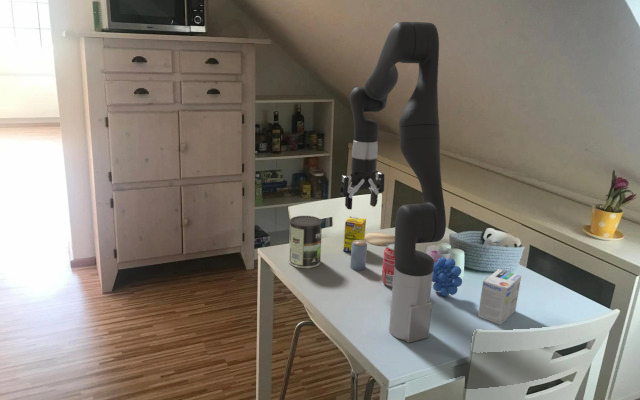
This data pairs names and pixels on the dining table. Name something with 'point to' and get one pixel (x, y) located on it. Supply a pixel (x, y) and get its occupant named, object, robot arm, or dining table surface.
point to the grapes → (446, 276)
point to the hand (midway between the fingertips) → (361, 207)
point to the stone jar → (358, 255)
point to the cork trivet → (379, 238)
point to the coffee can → (305, 241)
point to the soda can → (388, 265)
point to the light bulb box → (499, 296)
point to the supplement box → (353, 231)
